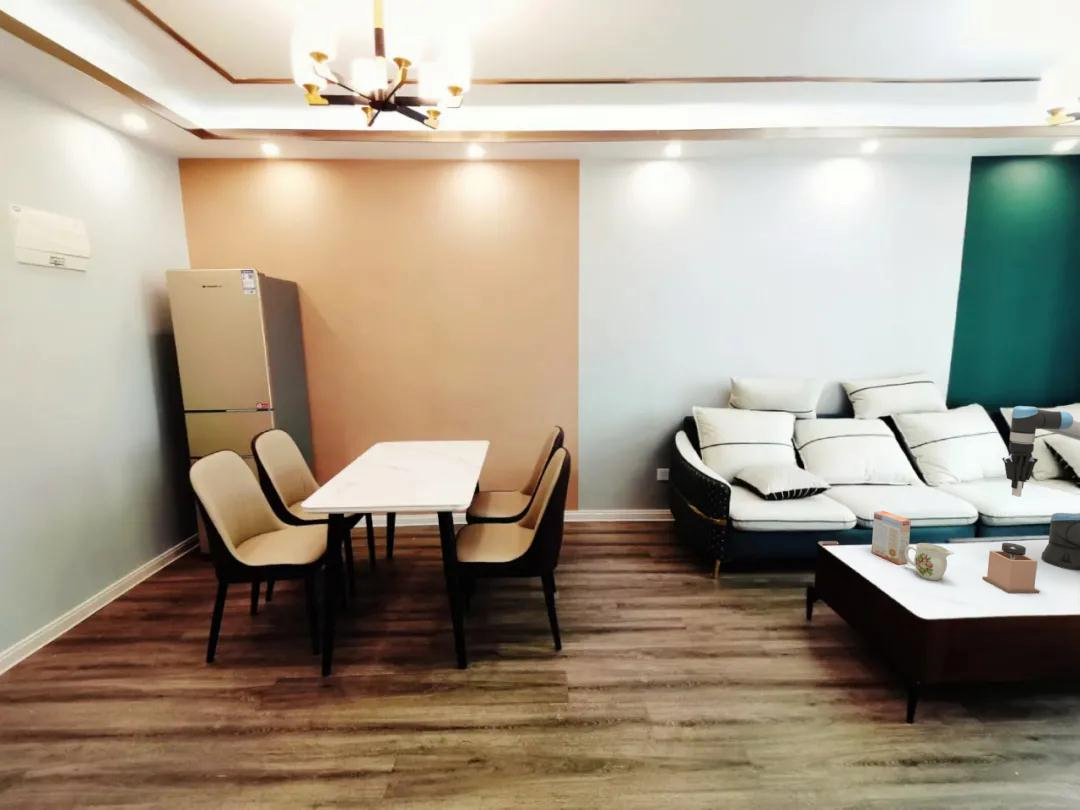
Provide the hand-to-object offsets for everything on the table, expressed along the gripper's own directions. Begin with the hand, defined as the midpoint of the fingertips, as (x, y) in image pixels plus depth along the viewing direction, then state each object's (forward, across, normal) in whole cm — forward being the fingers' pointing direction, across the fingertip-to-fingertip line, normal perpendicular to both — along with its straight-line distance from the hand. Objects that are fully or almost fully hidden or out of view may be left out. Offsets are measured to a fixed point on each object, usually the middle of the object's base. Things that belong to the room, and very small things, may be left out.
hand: (1016, 495), depth 211 cm
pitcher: (+35, +39, +5) cm, 52 cm away
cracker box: (+35, +43, -13) cm, 57 cm away
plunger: (+32, +12, +14) cm, 37 cm away
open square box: (+34, +12, +14) cm, 39 cm away
